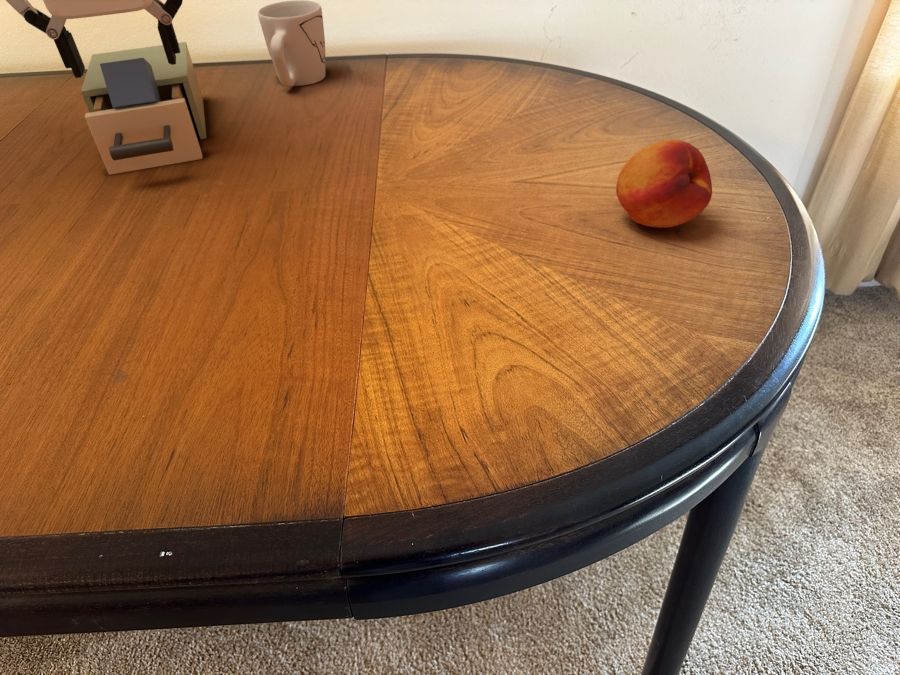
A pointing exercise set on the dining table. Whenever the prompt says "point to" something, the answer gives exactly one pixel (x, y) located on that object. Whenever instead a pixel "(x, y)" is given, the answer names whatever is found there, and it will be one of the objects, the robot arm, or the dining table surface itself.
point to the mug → (295, 40)
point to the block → (130, 82)
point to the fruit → (665, 184)
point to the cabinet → (162, 74)
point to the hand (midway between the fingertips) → (127, 67)
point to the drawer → (145, 131)
